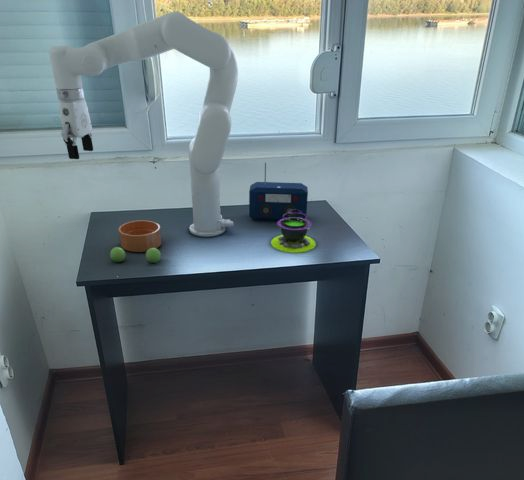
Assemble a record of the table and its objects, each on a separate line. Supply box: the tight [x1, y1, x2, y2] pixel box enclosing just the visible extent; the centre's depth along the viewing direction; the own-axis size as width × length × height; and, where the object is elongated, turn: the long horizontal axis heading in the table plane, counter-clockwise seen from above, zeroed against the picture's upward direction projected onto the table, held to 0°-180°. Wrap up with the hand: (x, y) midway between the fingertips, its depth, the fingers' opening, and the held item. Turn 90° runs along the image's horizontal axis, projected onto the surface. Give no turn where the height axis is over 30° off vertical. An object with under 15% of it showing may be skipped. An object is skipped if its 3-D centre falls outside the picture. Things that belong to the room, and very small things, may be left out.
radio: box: [248, 162, 309, 222], centre depth 188 cm, size 21×9×20 cm, turn 87°
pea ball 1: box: [109, 246, 126, 263], centre depth 160 cm, size 5×5×5 cm
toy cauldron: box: [270, 209, 317, 254], centre depth 172 cm, size 15×15×11 cm
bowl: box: [118, 219, 163, 253], centre depth 170 cm, size 13×13×6 cm
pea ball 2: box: [145, 248, 162, 264], centre depth 160 cm, size 5×5×5 cm
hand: (81, 154), depth 163 cm, fingers open, 9 cm apart
